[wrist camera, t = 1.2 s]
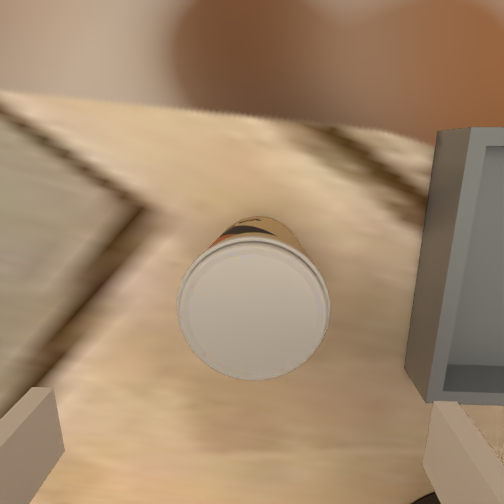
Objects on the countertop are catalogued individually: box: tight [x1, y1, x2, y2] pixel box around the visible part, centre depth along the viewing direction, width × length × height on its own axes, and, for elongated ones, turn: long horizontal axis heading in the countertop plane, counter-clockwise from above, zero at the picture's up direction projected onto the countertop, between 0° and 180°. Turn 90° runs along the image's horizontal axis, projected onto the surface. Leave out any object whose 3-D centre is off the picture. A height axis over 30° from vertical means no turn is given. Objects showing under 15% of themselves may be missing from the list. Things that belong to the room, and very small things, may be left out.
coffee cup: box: [177, 217, 330, 380], centre depth 27 cm, size 9×9×12 cm
